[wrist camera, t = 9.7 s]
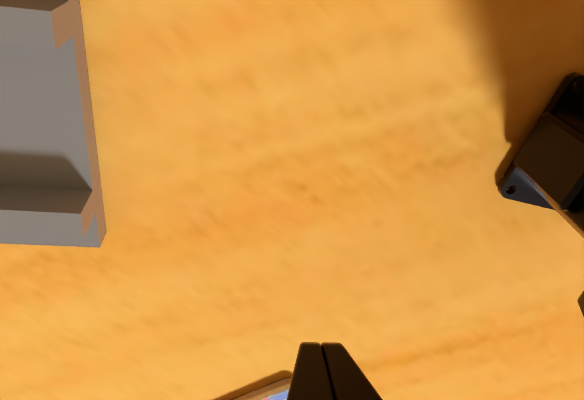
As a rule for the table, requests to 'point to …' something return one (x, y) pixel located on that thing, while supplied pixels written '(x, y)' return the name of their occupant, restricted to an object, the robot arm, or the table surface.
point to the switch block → (47, 128)
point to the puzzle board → (269, 391)
